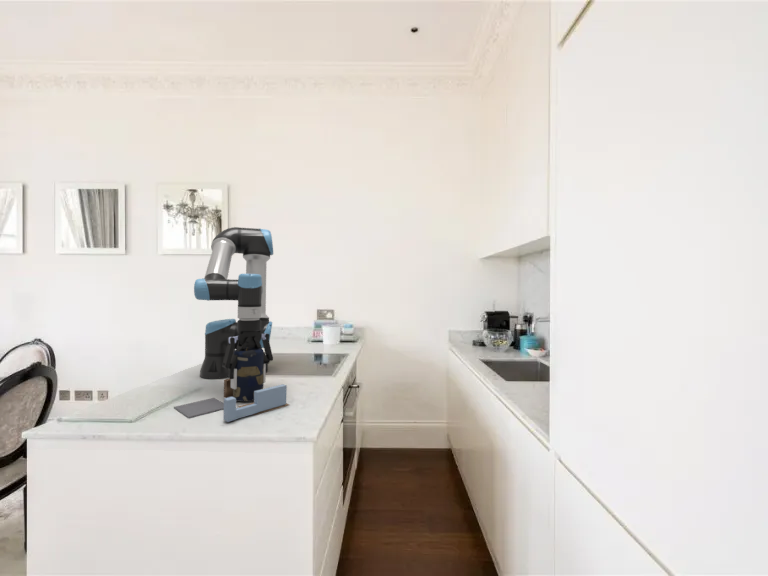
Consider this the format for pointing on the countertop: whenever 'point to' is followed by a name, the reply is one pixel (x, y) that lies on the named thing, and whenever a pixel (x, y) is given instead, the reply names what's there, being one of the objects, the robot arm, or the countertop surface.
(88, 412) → the countertop surface
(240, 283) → the robot arm
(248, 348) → the canister
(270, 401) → the tie jaw
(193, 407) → the mat
